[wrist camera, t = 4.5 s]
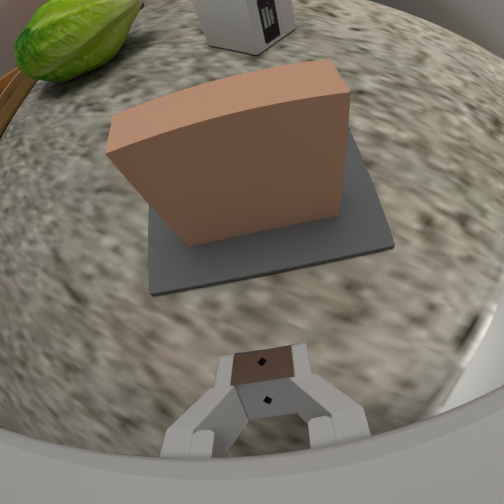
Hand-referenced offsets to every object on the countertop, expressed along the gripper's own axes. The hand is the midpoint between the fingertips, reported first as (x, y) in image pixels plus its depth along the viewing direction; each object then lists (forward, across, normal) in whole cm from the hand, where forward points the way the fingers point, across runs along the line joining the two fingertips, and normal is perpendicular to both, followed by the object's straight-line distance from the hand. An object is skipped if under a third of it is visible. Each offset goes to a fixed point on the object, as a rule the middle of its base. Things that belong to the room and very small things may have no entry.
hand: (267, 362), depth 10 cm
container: (+30, -3, -19) cm, 36 cm away
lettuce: (+36, +21, -26) cm, 49 cm away
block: (+12, 0, -2) cm, 12 cm away
